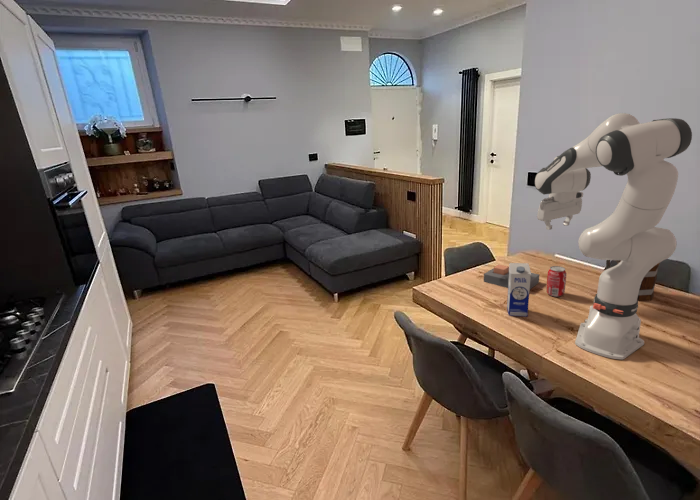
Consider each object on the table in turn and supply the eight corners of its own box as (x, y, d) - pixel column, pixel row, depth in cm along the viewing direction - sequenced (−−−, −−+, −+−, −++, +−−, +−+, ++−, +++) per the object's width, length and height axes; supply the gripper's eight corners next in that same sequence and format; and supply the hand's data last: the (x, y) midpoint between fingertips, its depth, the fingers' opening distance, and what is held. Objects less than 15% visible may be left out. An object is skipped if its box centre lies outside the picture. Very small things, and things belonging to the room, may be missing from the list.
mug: (662, 296, 153) (669, 262, 148) (639, 304, 148) (646, 269, 143) (614, 280, 170) (618, 249, 165) (592, 286, 166) (597, 254, 161)
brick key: (503, 275, 176) (503, 269, 175) (493, 273, 180) (493, 267, 179) (508, 272, 179) (508, 266, 178) (498, 270, 183) (498, 264, 182)
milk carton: (525, 308, 152) (528, 262, 146) (527, 316, 146) (531, 269, 140) (506, 307, 154) (509, 262, 148) (508, 315, 148) (511, 268, 142)
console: (525, 292, 165) (526, 284, 164) (483, 281, 180) (483, 273, 178) (538, 282, 174) (539, 274, 173) (497, 272, 188) (498, 265, 187)
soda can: (560, 290, 165) (562, 265, 161) (567, 297, 158) (570, 271, 154) (543, 291, 166) (545, 265, 162) (549, 298, 159) (552, 271, 155)
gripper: (547, 200, 147) (544, 233, 152) (586, 192, 153) (582, 224, 158) (534, 197, 153) (532, 229, 157) (573, 190, 158) (569, 221, 163)
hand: (557, 227), depth 158 cm, fingers open, 8 cm apart
